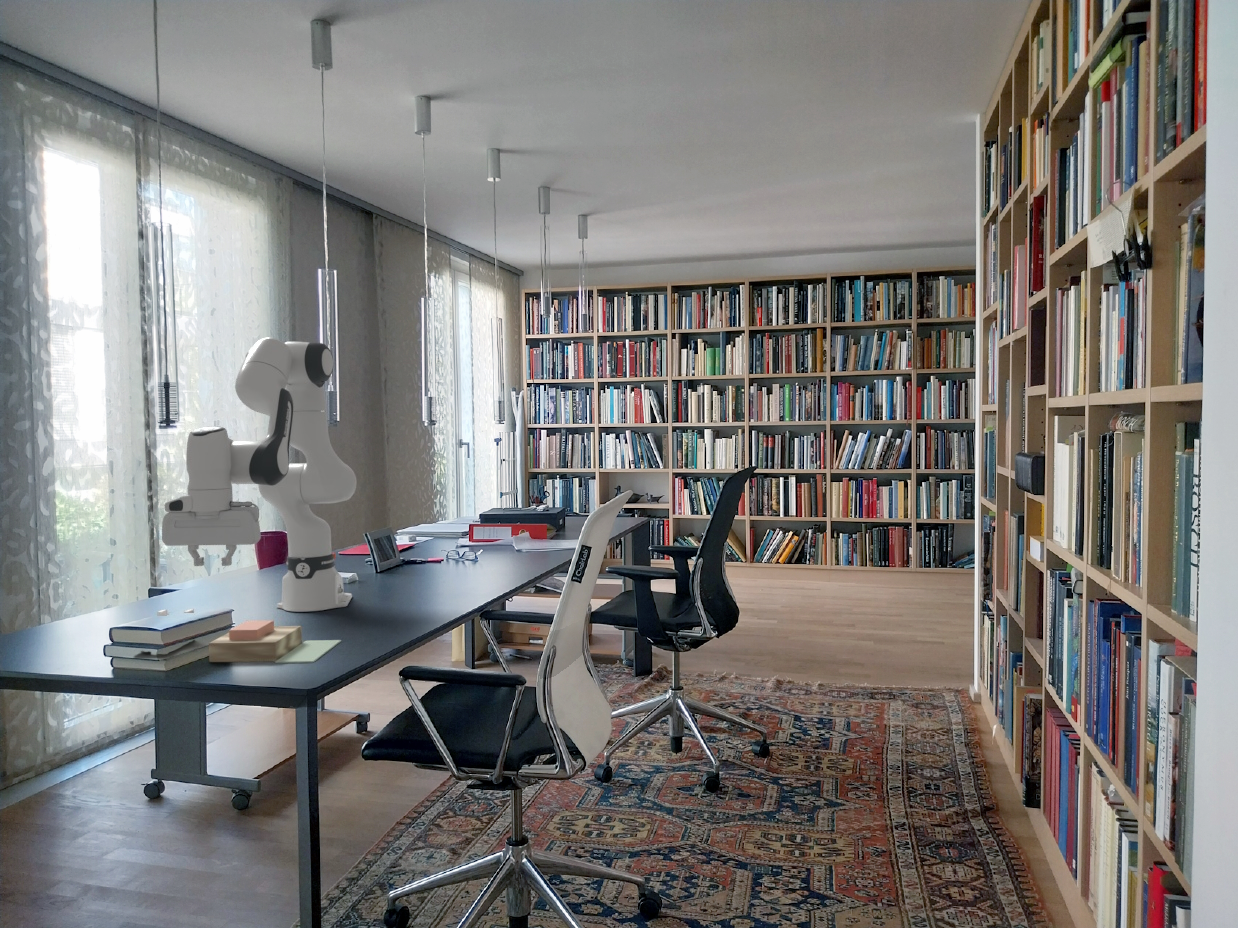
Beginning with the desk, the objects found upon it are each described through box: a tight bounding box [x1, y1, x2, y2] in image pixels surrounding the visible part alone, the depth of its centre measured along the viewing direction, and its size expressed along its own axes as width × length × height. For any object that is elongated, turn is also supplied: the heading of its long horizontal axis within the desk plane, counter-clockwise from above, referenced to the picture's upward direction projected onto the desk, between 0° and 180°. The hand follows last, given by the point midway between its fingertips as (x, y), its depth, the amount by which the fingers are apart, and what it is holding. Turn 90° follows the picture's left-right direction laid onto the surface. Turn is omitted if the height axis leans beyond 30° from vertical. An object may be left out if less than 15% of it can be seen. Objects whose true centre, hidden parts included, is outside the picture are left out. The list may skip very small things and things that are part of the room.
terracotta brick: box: [228, 620, 275, 640], centre depth 196 cm, size 9×6×2 cm, turn 179°
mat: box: [274, 639, 342, 664], centre depth 196 cm, size 18×8×1 cm, turn 179°
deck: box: [208, 625, 303, 663], centre depth 196 cm, size 15×14×4 cm
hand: (213, 565), depth 196 cm, fingers open, 5 cm apart
